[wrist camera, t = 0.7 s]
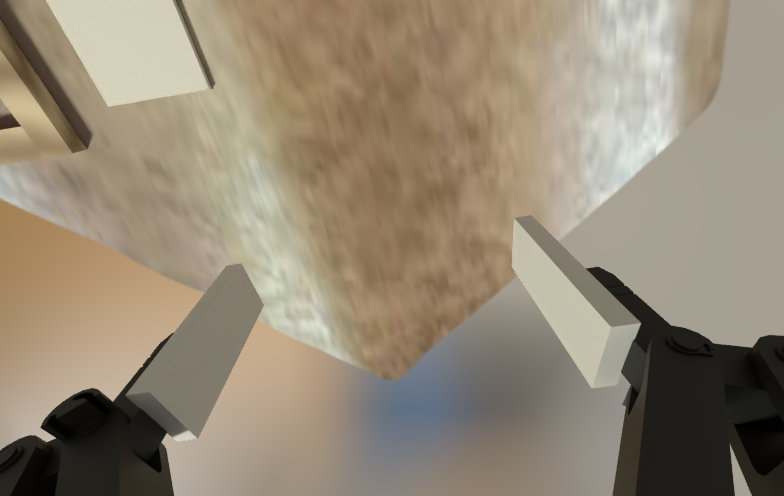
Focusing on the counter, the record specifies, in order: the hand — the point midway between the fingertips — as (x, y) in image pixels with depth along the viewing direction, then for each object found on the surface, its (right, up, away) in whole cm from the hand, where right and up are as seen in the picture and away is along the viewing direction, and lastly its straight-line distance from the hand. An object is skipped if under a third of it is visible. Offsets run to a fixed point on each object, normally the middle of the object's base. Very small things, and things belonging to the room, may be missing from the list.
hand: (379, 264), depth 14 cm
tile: (-27, +23, +16) cm, 39 cm away
